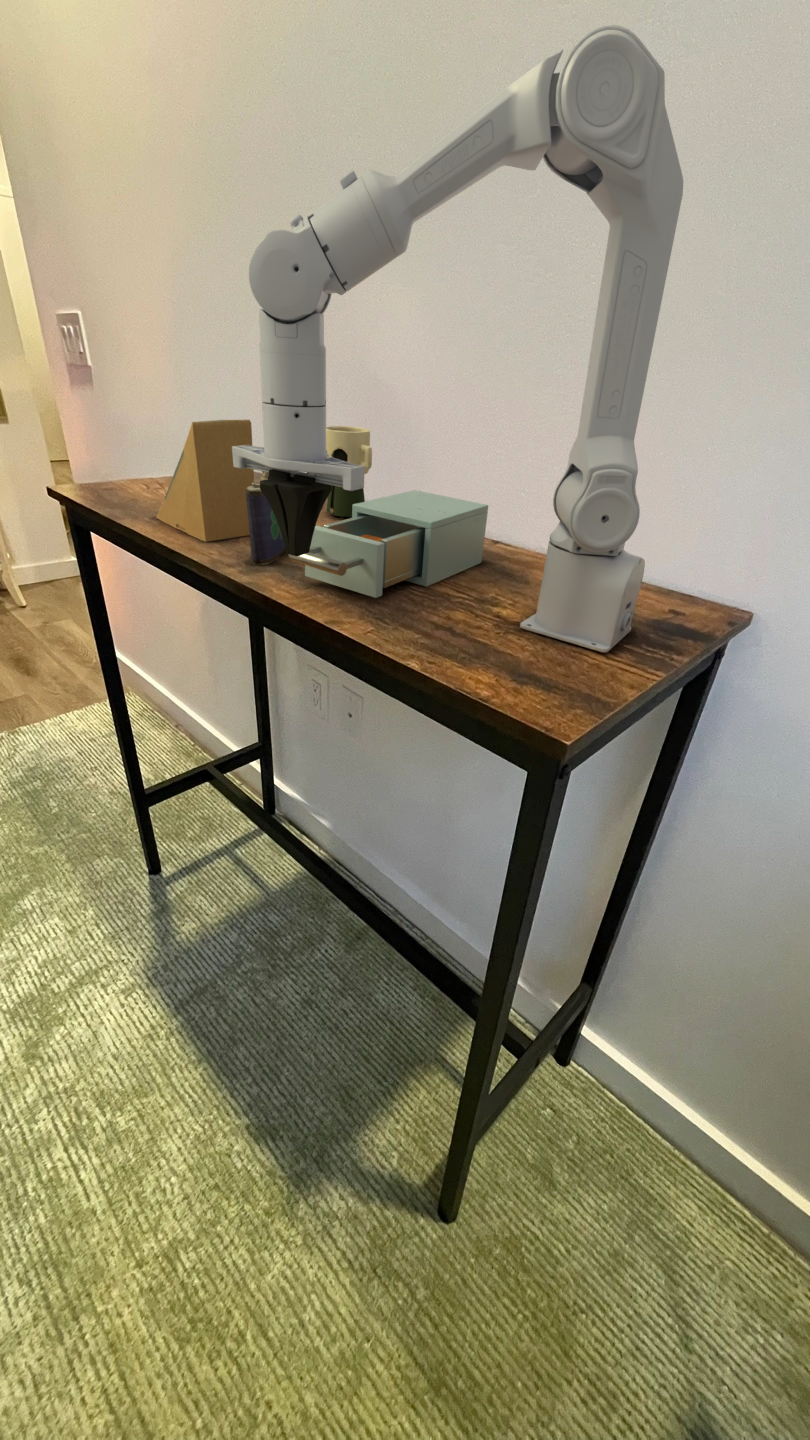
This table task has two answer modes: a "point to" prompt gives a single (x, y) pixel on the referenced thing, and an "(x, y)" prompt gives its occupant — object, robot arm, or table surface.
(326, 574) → the drawer
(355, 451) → the character mug
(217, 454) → the sandwich container
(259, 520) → the flask
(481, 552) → the cabinet
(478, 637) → the table surface
